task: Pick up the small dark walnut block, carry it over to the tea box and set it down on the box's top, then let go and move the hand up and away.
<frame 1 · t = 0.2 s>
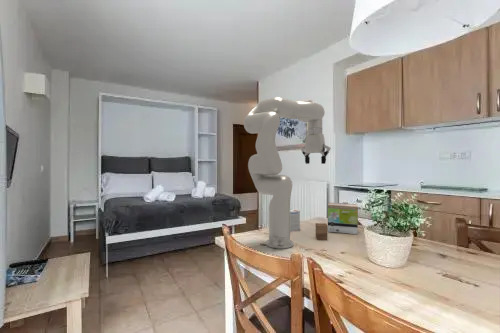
hand: (315, 163, 142), 37 cm above the table, tool pointing down, fingers open, 9 cm apart
tea box: (342, 231, 142), on the table
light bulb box: (289, 228, 148), on the table
walnut block: (321, 238, 128), on the table
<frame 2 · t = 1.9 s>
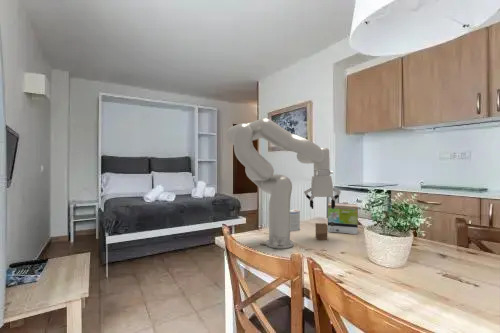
hand: (322, 208, 128), 15 cm above the table, tool pointing down, fingers open, 9 cm apart
nothing on the table moved.
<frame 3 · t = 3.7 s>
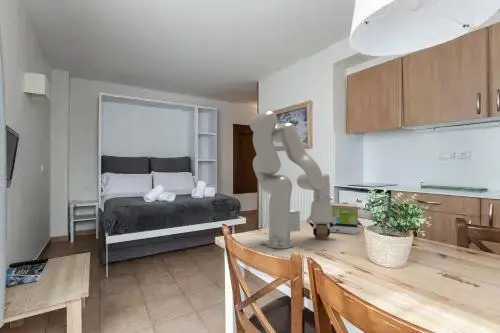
hand: (321, 236, 128), 1 cm above the table, tool pointing down, fingers closed on walnut block, 5 cm apart
walnut block: (321, 238, 128), on the table, touching gripper
everything else where it was.
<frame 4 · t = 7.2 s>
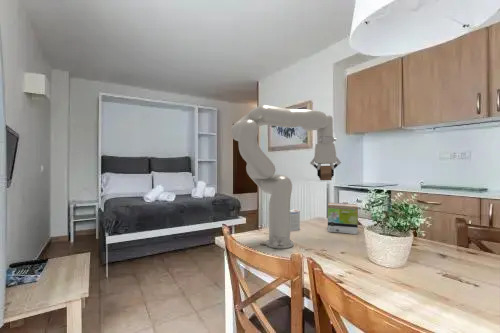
hand: (325, 177, 130), 30 cm above the table, tool pointing down, fingers closed on walnut block, 5 cm apart
walnut block: (325, 179, 130), point 28 cm above the table, touching gripper
everything else where it was.
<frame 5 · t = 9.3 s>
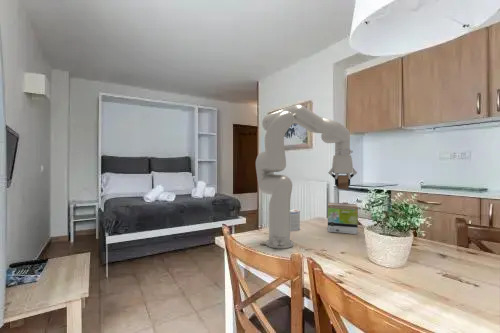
hand: (342, 186, 142), 24 cm above the table, tool pointing down, fingers closed on walnut block, 5 cm apart
walnut block: (342, 188, 142), point 23 cm above the table, touching gripper
everything else where it was.
when the fingers open (18 cm above the table, at t = 10.8 s): walnut block drops 2 cm, resting on tea box.
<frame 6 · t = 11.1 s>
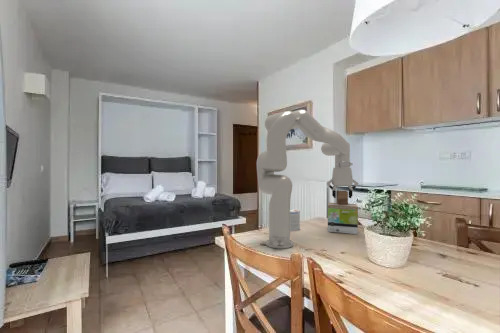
hand: (342, 197, 142), 18 cm above the table, tool pointing down, fingers open, 7 cm apart
tea box: (342, 231, 142), on the table, touching walnut block
walnut block: (342, 203, 142), point 15 cm above the table, touching tea box
everything else where it was.
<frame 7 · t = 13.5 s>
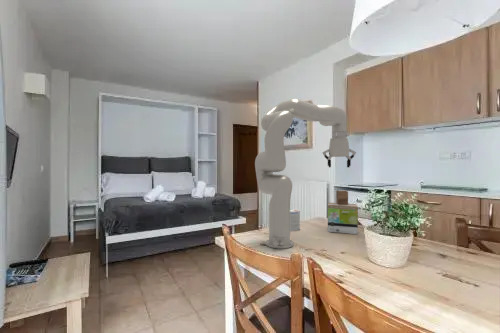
hand: (338, 167, 143), 34 cm above the table, tool pointing down, fingers open, 9 cm apart
nothing on the table moved.
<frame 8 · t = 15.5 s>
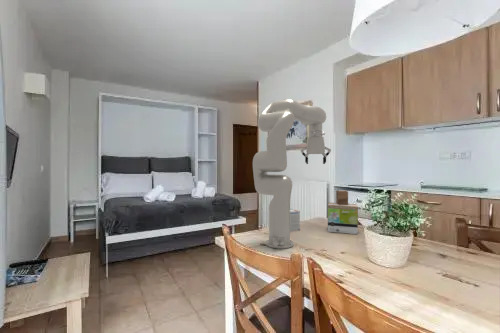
hand: (315, 163, 153), 36 cm above the table, tool pointing down, fingers open, 9 cm apart
nothing on the table moved.
at the end: walnut block inside the target area on the tea box (0.1 cm from its centre), point 15.0 cm above the tea box's base; walnut block tilted 0°; the gripper is holding nothing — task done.
